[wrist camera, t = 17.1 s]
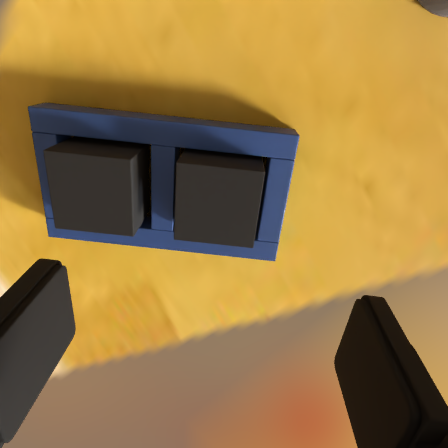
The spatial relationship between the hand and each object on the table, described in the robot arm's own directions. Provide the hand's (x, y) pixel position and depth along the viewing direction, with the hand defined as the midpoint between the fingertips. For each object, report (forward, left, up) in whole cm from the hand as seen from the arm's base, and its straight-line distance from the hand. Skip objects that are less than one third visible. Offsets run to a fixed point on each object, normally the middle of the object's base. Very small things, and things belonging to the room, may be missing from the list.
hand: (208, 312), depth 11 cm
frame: (+1, -4, -14) cm, 14 cm away
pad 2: (0, 0, -14) cm, 14 cm away
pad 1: (+1, -8, -14) cm, 16 cm away
